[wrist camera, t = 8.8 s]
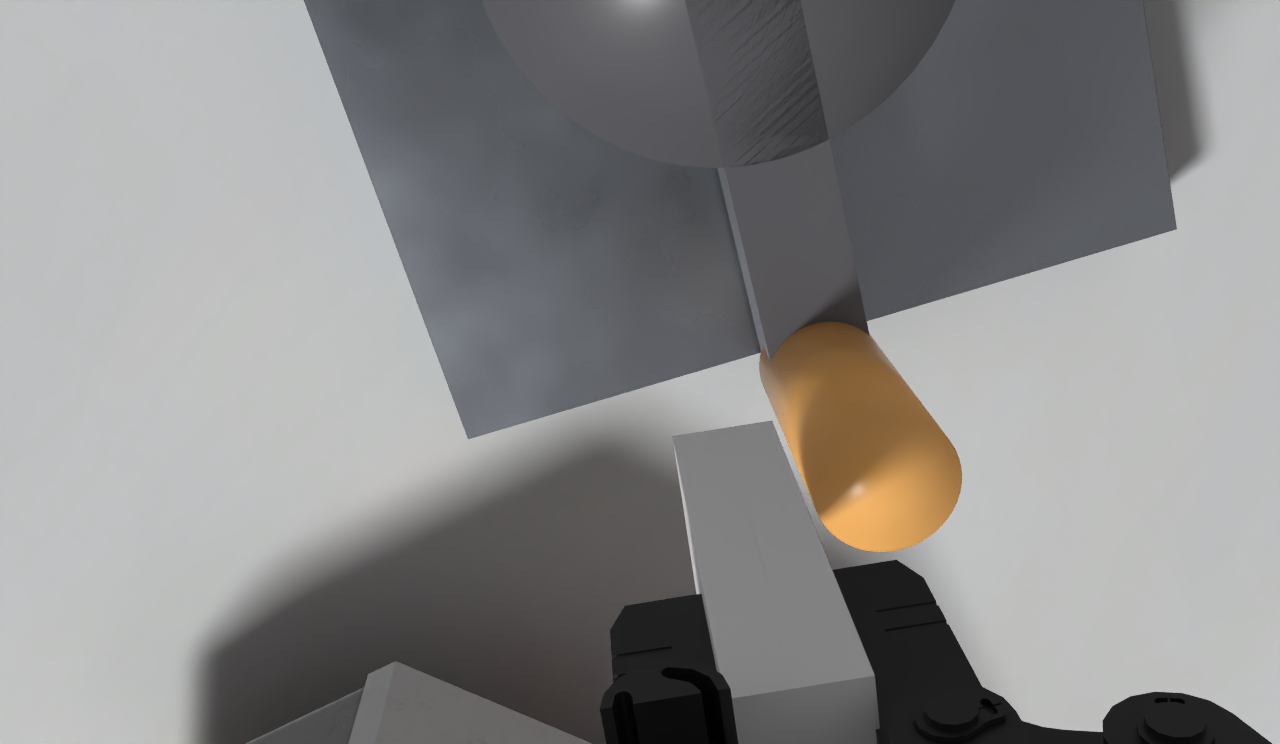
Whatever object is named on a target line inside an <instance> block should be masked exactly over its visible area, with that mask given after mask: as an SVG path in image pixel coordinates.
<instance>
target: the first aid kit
mask: <svg viewBox="0 0 1280 744" xmlns="http://www.w3.org/2000/svg"><path fill="white" fill-rule="evenodd" d="M245 744H592V743H590V742H587V741H585V740H583V739H580V738H578V737H576V736H573V735H571V734H568V733H566V732H564V731H561V730H559V729H557V728H554V727H552V726H549V725H547V724H545V723H542V722H540V721H537V720H535V719H533V718H530V717H528V716H526V715H523V714H521V713H518V712H516V711H514V710H511V709H509V708H507V707H504V706H502V705H499V704H497V703H495V702H492V701H490V700H487V699H485V698H483V697H480V696H478V695H476V694H473V693H471V692H468V691H466V690H464V689H461V688H459V687H457V686H454V685H452V684H449V683H447V682H445V681H442V680H440V679H437V678H435V677H433V676H430V675H428V674H426V673H423V672H421V671H418V670H416V669H414V668H411V667H409V666H407V665H404V664H402V663H399V662H397V661H394V662H392V663H390V664H388V665H386V666H384V667H382V668H380V669H378V670H376V671H373V672H371V673H369V674H368V676H367V680H366V683H365V687H363V688H361V689H359V690H357V691H355V692H352V693H350V694H348V695H346V696H344V697H342V698H340V699H338V700H336V701H334V702H331V703H329V704H327V705H325V706H323V707H321V708H319V709H317V710H315V711H312V712H310V713H308V714H306V715H304V716H302V717H300V718H298V719H296V720H294V721H291V722H289V723H287V724H285V725H283V726H281V727H279V728H277V729H275V730H272V731H270V732H268V733H266V734H264V735H262V736H260V737H258V738H256V739H254V740H251V741H249V742H247V743H245Z"/></svg>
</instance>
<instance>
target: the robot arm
mask: <svg viewBox="0 0 1280 744" xmlns="http://www.w3.org/2000/svg"><path fill="white" fill-rule="evenodd" d="M672 437H673V443H674V450H675V456H676V463H677V470H678V476H679V483H680V489H681V496H682V502H683V509H684V516H685V522H686V529H687V535H688V542H689V548H690V555H691V562H692V568H693V575H694V581H695V588H696V595H690V596H684V597H677V598H671V599H665V600H658V601H652V602H646V603H640V604H633V605H627V606H625V607H624V608H623V610H622V612H621V613H620V615H619V617H618V618H617V620H616V622H615V623H614V625H613V627H612V628H611V630H610V634H611V651H612V669H613V680H614V681H613V684H612V685H611V687H610V688H609V689H608V690H607V691H606V692H605V693H604V696H603V700H602V704H601V708H600V712H601V717H602V722H603V727H604V733H605V738H606V743H607V744H1272V743H1271V742H1269V741H1268V740H1267V739H1265V738H1264V737H1263V736H1261V735H1260V734H1259V733H1258V732H1256V731H1255V730H1254V729H1252V728H1251V727H1250V726H1248V725H1247V724H1246V723H1244V722H1243V721H1242V720H1240V719H1239V718H1238V717H1237V716H1235V715H1234V714H1233V713H1231V712H1229V711H1227V710H1226V709H1224V708H1222V707H1220V706H1218V705H1216V704H1215V703H1213V702H1211V701H1209V700H1205V699H1202V698H1198V697H1194V696H1191V695H1187V694H1183V693H1166V692H1152V693H1147V694H1141V695H1136V696H1131V697H1129V698H1127V699H1125V700H1123V701H1121V702H1120V703H1118V704H1116V705H1114V706H1112V708H1111V709H1110V711H1109V712H1108V714H1107V715H1106V717H1105V718H1104V720H1103V732H1089V731H1072V730H1060V729H1053V728H1046V727H1041V726H1037V725H1034V724H1030V723H1027V722H1023V721H1021V719H1020V717H1019V716H1018V714H1017V712H1016V711H1015V710H1014V709H1013V707H1012V706H1011V705H1010V704H1009V703H1008V702H1007V701H1006V700H1005V699H1004V698H1003V697H1001V696H999V695H997V694H995V693H993V692H991V691H989V690H987V689H985V688H983V687H982V686H981V684H980V682H979V680H978V678H977V677H976V675H975V673H974V671H973V669H972V667H971V665H970V663H969V662H968V660H967V658H966V656H965V654H964V652H963V650H962V649H961V647H960V645H959V643H958V641H957V639H956V637H955V636H954V634H953V632H952V630H951V628H950V626H949V625H947V623H946V619H945V617H944V615H943V613H942V611H941V610H940V608H939V606H937V604H936V600H935V598H934V597H933V595H932V593H931V591H930V589H929V587H928V585H927V584H926V582H925V580H924V578H923V577H922V576H920V575H918V574H917V573H915V572H914V571H912V570H911V569H909V568H908V567H906V566H905V565H903V564H902V563H900V562H899V561H897V560H893V561H886V562H880V563H874V564H867V565H861V566H855V567H848V568H842V569H836V570H832V568H831V566H830V563H829V561H828V558H827V556H826V554H825V551H824V549H823V546H822V544H821V541H820V539H819V536H818V534H817V531H816V529H815V526H814V524H813V521H812V519H811V516H810V514H809V511H808V509H807V506H806V504H805V502H804V499H803V497H802V494H801V492H800V489H799V487H798V484H797V482H796V479H795V477H794V474H793V472H792V469H791V467H790V464H789V462H788V459H787V457H786V455H785V452H784V450H783V447H782V445H781V442H780V440H779V437H778V435H777V432H776V430H775V427H774V425H773V422H772V421H767V422H761V423H754V424H748V425H742V426H735V427H729V428H723V429H717V430H710V431H704V432H698V433H691V434H685V435H679V436H672Z"/></svg>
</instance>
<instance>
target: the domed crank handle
mask: <svg viewBox="0 0 1280 744" xmlns="http://www.w3.org/2000/svg"><path fill="white" fill-rule="evenodd" d="M954 2H955V0H482V3H483V6H484V8H485V11H486V13H487V15H488V17H489V19H490V21H491V23H492V25H493V27H494V29H495V31H496V33H497V35H498V37H499V39H500V41H501V43H502V44H503V46H504V47H505V48H506V50H507V51H508V53H509V54H510V56H511V57H512V59H513V60H514V62H515V63H516V65H517V66H518V68H519V69H520V71H521V72H522V73H523V74H524V75H525V76H526V77H527V79H528V80H529V81H530V82H531V83H532V84H533V85H534V86H535V88H536V89H537V90H538V91H539V92H540V93H541V94H542V96H544V97H545V98H546V99H547V100H548V101H549V102H550V103H552V104H553V105H554V106H555V107H556V108H557V109H558V110H560V111H561V112H562V113H563V114H564V115H565V116H566V117H568V118H569V119H571V120H572V121H574V122H575V123H577V124H578V125H580V126H581V127H582V128H584V129H585V130H587V131H588V132H590V133H591V134H593V135H594V136H597V137H599V138H601V139H603V140H605V141H607V142H609V143H611V144H613V145H615V146H617V147H619V148H621V149H623V150H626V151H629V152H631V153H634V154H637V155H640V156H643V157H646V158H649V159H652V160H656V161H661V162H666V163H671V164H676V165H681V166H691V167H706V168H717V169H718V173H719V177H720V182H721V186H722V190H723V194H724V198H725V203H726V207H727V211H728V215H729V219H730V224H731V228H732V232H733V236H734V240H735V245H736V249H737V253H738V257H739V261H740V265H741V270H742V274H743V278H744V282H745V286H746V291H747V295H748V299H749V303H750V307H751V312H752V316H753V320H754V324H755V328H756V333H757V337H758V341H759V345H760V349H761V355H760V362H759V371H760V377H761V381H762V384H763V386H764V389H765V391H766V393H767V396H768V398H769V400H770V403H771V405H772V408H773V410H774V412H775V415H776V417H777V419H778V422H779V424H780V426H781V429H782V431H783V433H784V436H785V438H786V440H787V443H788V445H789V447H790V450H791V452H792V454H793V457H794V459H795V461H796V464H797V466H798V469H799V471H800V473H801V476H802V478H803V480H804V483H805V485H806V487H807V490H808V492H809V494H810V497H811V499H812V501H813V504H814V506H815V508H816V511H817V513H818V515H819V517H820V519H821V521H822V522H823V524H824V525H825V527H826V528H827V529H828V530H829V531H830V532H831V533H832V534H833V535H834V536H835V537H837V538H838V539H839V540H841V541H842V542H844V543H846V544H848V545H850V546H852V547H854V548H858V549H861V550H866V551H872V552H889V551H896V550H901V549H904V548H907V547H910V546H913V545H915V544H917V543H919V542H921V541H923V540H924V539H926V538H928V537H929V536H930V535H932V534H933V533H934V532H936V531H937V530H938V529H939V528H940V527H941V526H942V525H943V524H944V522H945V521H946V520H947V519H948V517H949V516H950V514H951V513H952V511H953V509H954V507H955V505H956V503H957V501H958V497H959V494H960V490H961V484H962V471H961V464H960V461H959V457H958V455H957V452H956V450H955V448H954V447H953V445H952V443H951V442H950V440H949V439H948V438H947V436H946V435H945V434H944V432H943V431H942V430H941V428H940V427H939V426H938V424H937V423H936V422H935V420H934V419H933V418H932V416H931V415H930V414H929V412H928V411H927V410H926V409H925V407H924V406H923V405H922V403H921V402H920V401H919V399H918V398H917V397H916V395H915V394H914V393H913V391H912V390H911V389H910V387H909V386H908V385H907V383H906V382H905V381H904V379H903V378H902V377H901V375H900V374H899V373H898V371H897V370H896V369H895V367H894V366H893V365H892V363H891V362H890V361H889V359H888V358H887V357H886V355H885V354H884V353H883V351H882V350H881V349H880V347H879V346H878V345H877V344H876V342H875V341H874V340H873V338H872V337H871V336H870V334H869V331H868V326H867V321H866V316H865V311H864V306H863V302H862V297H861V292H860V287H859V282H858V277H857V272H856V268H855V263H854V258H853V253H852V248H851V243H850V238H849V233H848V229H847V224H846V219H845V214H844V209H843V204H842V199H841V195H840V190H839V185H838V180H837V175H836V170H835V165H834V161H833V156H832V151H831V146H830V141H829V139H831V138H833V137H835V136H837V135H839V134H840V133H842V132H843V131H845V130H847V129H848V128H850V127H851V126H853V125H854V124H856V123H857V122H859V121H860V120H862V119H863V118H865V117H866V116H867V115H868V114H870V113H871V112H872V111H873V110H874V109H876V108H877V107H878V106H879V105H880V104H881V103H883V102H884V101H885V100H886V99H887V98H889V97H890V96H891V95H892V94H893V93H894V91H895V90H896V89H897V88H898V87H899V86H900V85H901V84H902V83H903V82H904V81H905V80H906V79H907V77H908V76H909V75H910V74H911V73H912V72H913V71H914V69H915V68H916V67H917V65H918V64H919V63H920V61H921V60H922V58H923V57H924V56H925V54H926V53H927V52H928V50H929V49H930V47H931V46H932V45H933V43H934V41H935V39H936V38H937V36H938V34H939V32H940V30H941V29H942V27H943V25H944V23H945V21H946V20H947V18H948V16H949V14H950V12H951V10H952V7H953V5H954Z"/></svg>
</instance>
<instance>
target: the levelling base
mask: <svg viewBox="0 0 1280 744" xmlns="http://www.w3.org/2000/svg"><path fill="white" fill-rule="evenodd" d="M304 2H305V5H306V7H307V10H308V13H309V15H310V18H311V21H312V23H313V26H314V29H315V31H316V34H317V37H318V39H319V42H320V45H321V47H322V50H323V53H324V55H325V58H326V61H327V63H328V66H329V69H330V71H331V74H332V77H333V79H334V82H335V85H336V87H337V90H338V93H339V95H340V98H341V101H342V103H343V106H344V109H345V111H346V114H347V117H348V119H349V122H350V125H351V127H352V130H353V133H354V135H355V138H356V141H357V143H358V146H359V149H360V151H361V154H362V157H363V159H364V162H365V165H366V168H367V170H368V173H369V176H370V178H371V181H372V184H373V186H374V189H375V192H376V194H377V197H378V200H379V202H380V205H381V208H382V210H383V213H384V216H385V218H386V221H387V224H388V226H389V229H390V232H391V234H392V237H393V240H394V242H395V245H396V248H397V250H398V253H399V256H400V258H401V261H402V264H403V266H404V269H405V272H406V274H407V277H408V280H409V282H410V285H411V288H412V290H413V293H414V296H415V298H416V301H417V304H418V306H419V309H420V312H421V314H422V317H423V320H424V322H425V325H426V328H427V330H428V333H429V336H430V338H431V341H432V344H433V346H434V349H435V352H436V354H437V357H438V360H439V362H440V365H441V368H442V370H443V373H444V376H445V378H446V381H447V384H448V386H449V389H450V392H451V394H452V397H453V400H454V402H455V405H456V408H457V411H458V413H459V416H460V419H461V421H462V424H463V427H464V429H465V432H466V435H467V437H468V439H471V438H474V437H477V436H481V435H484V434H487V433H491V432H494V431H498V430H501V429H504V428H508V427H511V426H514V425H518V424H521V423H525V422H528V421H531V420H535V419H538V418H541V417H545V416H548V415H552V414H555V413H558V412H562V411H565V410H568V409H572V408H575V407H579V406H582V405H585V404H589V403H592V402H595V401H599V400H602V399H606V398H609V397H612V396H616V395H619V394H622V393H626V392H629V391H632V390H636V389H639V388H643V387H646V386H649V385H653V384H656V383H659V382H663V381H666V380H670V379H673V378H676V377H680V376H683V375H686V374H690V373H693V372H697V371H700V370H703V369H707V368H710V367H713V366H717V365H720V364H724V363H727V362H730V361H734V360H737V359H740V358H744V357H747V356H751V355H754V354H757V353H761V349H760V345H759V341H758V337H757V333H756V328H755V324H754V320H753V316H752V312H751V307H750V303H749V299H748V295H747V291H746V286H745V282H744V278H743V274H742V270H741V265H740V261H739V257H738V253H737V249H736V245H735V240H734V236H733V232H732V228H731V224H730V219H729V215H728V211H727V207H726V203H725V198H724V194H723V190H722V186H721V182H720V177H719V173H718V169H717V168H706V167H691V166H681V165H676V164H671V163H666V162H661V161H656V160H652V159H649V158H646V157H643V156H640V155H637V154H634V153H631V152H629V151H626V150H623V149H621V148H619V147H617V146H615V145H613V144H611V143H609V142H607V141H605V140H603V139H601V138H599V137H597V136H594V135H593V134H591V133H590V132H588V131H587V130H585V129H584V128H582V127H581V126H580V125H578V124H577V123H575V122H574V121H572V120H571V119H569V118H568V117H566V116H565V115H564V114H563V113H562V112H561V111H560V110H558V109H557V108H556V107H555V106H554V105H553V104H552V103H550V102H549V101H548V100H547V99H546V98H545V97H544V96H542V94H541V93H540V92H539V91H538V90H537V89H536V88H535V86H534V85H533V84H532V83H531V82H530V81H529V80H528V79H527V77H526V76H525V75H524V74H523V73H522V72H521V71H520V69H519V68H518V66H517V65H516V63H515V62H514V60H513V59H512V57H511V56H510V54H509V53H508V51H507V50H506V48H505V47H504V46H503V44H502V43H501V41H500V39H499V37H498V35H497V33H496V31H495V29H494V27H493V25H492V23H491V21H490V19H489V17H488V15H487V13H486V11H485V8H484V6H483V3H482V0H304ZM829 141H830V146H831V151H832V156H833V161H834V165H835V170H836V175H837V180H838V185H839V190H840V195H841V199H842V204H843V209H844V214H845V219H846V224H847V229H848V233H849V238H850V243H851V248H852V253H853V258H854V263H855V268H856V272H857V277H858V282H859V287H860V292H861V297H862V302H863V306H864V311H865V316H866V321H869V320H872V319H875V318H879V317H882V316H885V315H889V314H892V313H896V312H899V311H902V310H906V309H909V308H912V307H916V306H919V305H923V304H926V303H929V302H933V301H936V300H939V299H943V298H946V297H950V296H953V295H956V294H960V293H963V292H966V291H970V290H973V289H977V288H980V287H983V286H987V285H990V284H993V283H997V282H1000V281H1004V280H1007V279H1010V278H1014V277H1017V276H1020V275H1024V274H1027V273H1031V272H1034V271H1037V270H1041V269H1044V268H1047V267H1051V266H1054V265H1057V264H1061V263H1064V262H1068V261H1071V260H1074V259H1078V258H1081V257H1084V256H1088V255H1091V254H1095V253H1098V252H1101V251H1105V250H1108V249H1111V248H1115V247H1118V246H1122V245H1125V244H1128V243H1132V242H1135V241H1138V240H1142V239H1145V238H1149V237H1152V236H1155V235H1159V234H1162V233H1165V232H1169V231H1172V230H1176V229H1177V227H1176V221H1175V214H1174V207H1173V200H1172V194H1171V187H1170V180H1169V174H1168V167H1167V160H1166V153H1165V147H1164V140H1163V133H1162V127H1161V120H1160V113H1159V106H1158V100H1157V93H1156V86H1155V80H1154V73H1153V66H1152V59H1151V53H1150V46H1149V39H1148V33H1147V26H1146V19H1145V12H1144V6H1143V0H955V2H954V5H953V7H952V10H951V12H950V14H949V16H948V18H947V20H946V21H945V23H944V25H943V27H942V29H941V30H940V32H939V34H938V36H937V38H936V39H935V41H934V43H933V45H932V46H931V47H930V49H929V50H928V52H927V53H926V54H925V56H924V57H923V58H922V60H921V61H920V63H919V64H918V65H917V67H916V68H915V69H914V71H913V72H912V73H911V74H910V75H909V76H908V77H907V79H906V80H905V81H904V82H903V83H902V84H901V85H900V86H899V87H898V88H897V89H896V90H895V91H894V93H893V94H892V95H891V96H890V97H889V98H887V99H886V100H885V101H884V102H883V103H881V104H880V105H879V106H878V107H877V108H876V109H874V110H873V111H872V112H871V113H870V114H868V115H867V116H866V117H865V118H863V119H862V120H860V121H859V122H857V123H856V124H854V125H853V126H851V127H850V128H848V129H847V130H845V131H843V132H842V133H840V134H839V135H837V136H835V137H833V138H831V139H829Z"/></svg>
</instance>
